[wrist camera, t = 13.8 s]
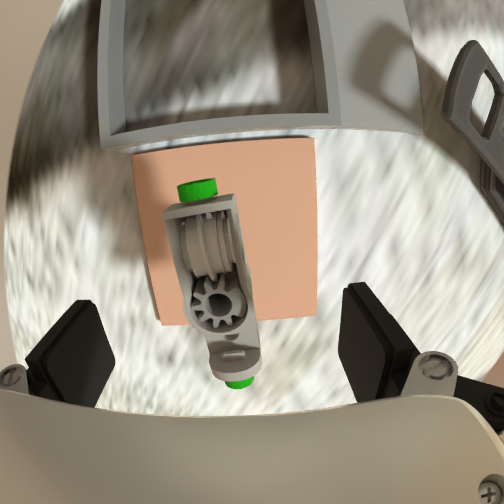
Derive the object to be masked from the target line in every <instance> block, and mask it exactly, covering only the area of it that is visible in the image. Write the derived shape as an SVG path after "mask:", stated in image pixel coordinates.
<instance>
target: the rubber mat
mask: <svg viewBox="0 0 504 504" xmlns="http://www.w3.org/2000/svg"><path fill="white" fill-rule="evenodd" d="M132 163H133V172H134V181H135V188H136V196H137V203H138V210H139V216H140V223H141V229H142V235H143V240H144V246H145V251H146V257H147V262H148V267H149V272H150V277H151V281H152V286H153V290H154V295H155V299H156V304H157V308H158V312H159V316H160V320H161V324H162V326H166V325H191V324H190V323H189V322H188V320H187V318H186V317H185V314H184V310H183V301H184V299H183V295H182V291H181V288H180V284H179V280H178V276H177V273H176V269H175V265H174V261H173V257H172V253H171V249H170V245H169V241H168V236H167V232H166V228H165V224H164V219H163V215H162V212H163V211H164V210H166V209H167V208H168V207H169V206H170V205H172V204H176V203H181V202H180V200H179V195H178V190H177V186H178V185H180V184H183V183H187V182H191V181H196V180H201V179H208V178H216V184H217V190H218V195H216V196H221V195H227V194H233V193H234V194H235V197H236V201H237V207H238V212H239V218H240V224H241V230H242V236H243V242H244V248H245V253H246V257H247V264H248V266H249V268H250V271H251V276H252V289H253V301H254V307H255V313H256V319H257V321H262V320H274V319H285V318H295V317H305V316H314V315H316V308H317V192H316V167H315V147H314V138H288V139H266V140H250V141H237V142H226V143H216V144H206V145H198V146H189V147H182V148H175V149H168V150H161V151H155V152H148V153H143V154H137V155H132ZM213 197H215V196H213Z"/></svg>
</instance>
